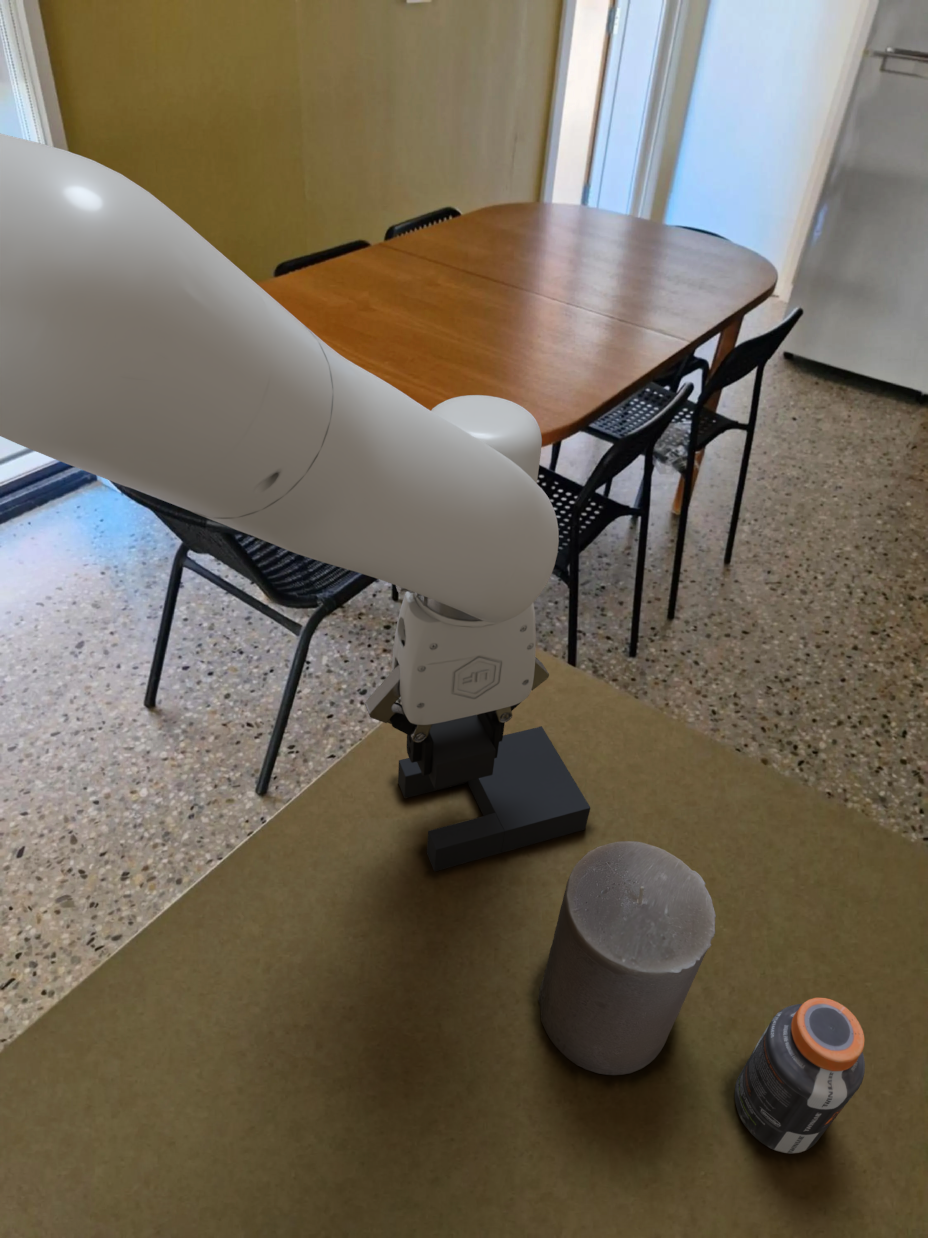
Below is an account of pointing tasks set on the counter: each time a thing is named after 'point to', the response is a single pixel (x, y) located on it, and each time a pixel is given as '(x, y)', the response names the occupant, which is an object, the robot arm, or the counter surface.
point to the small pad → (460, 752)
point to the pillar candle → (624, 955)
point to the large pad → (506, 802)
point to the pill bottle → (801, 1074)
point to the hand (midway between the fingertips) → (454, 752)
